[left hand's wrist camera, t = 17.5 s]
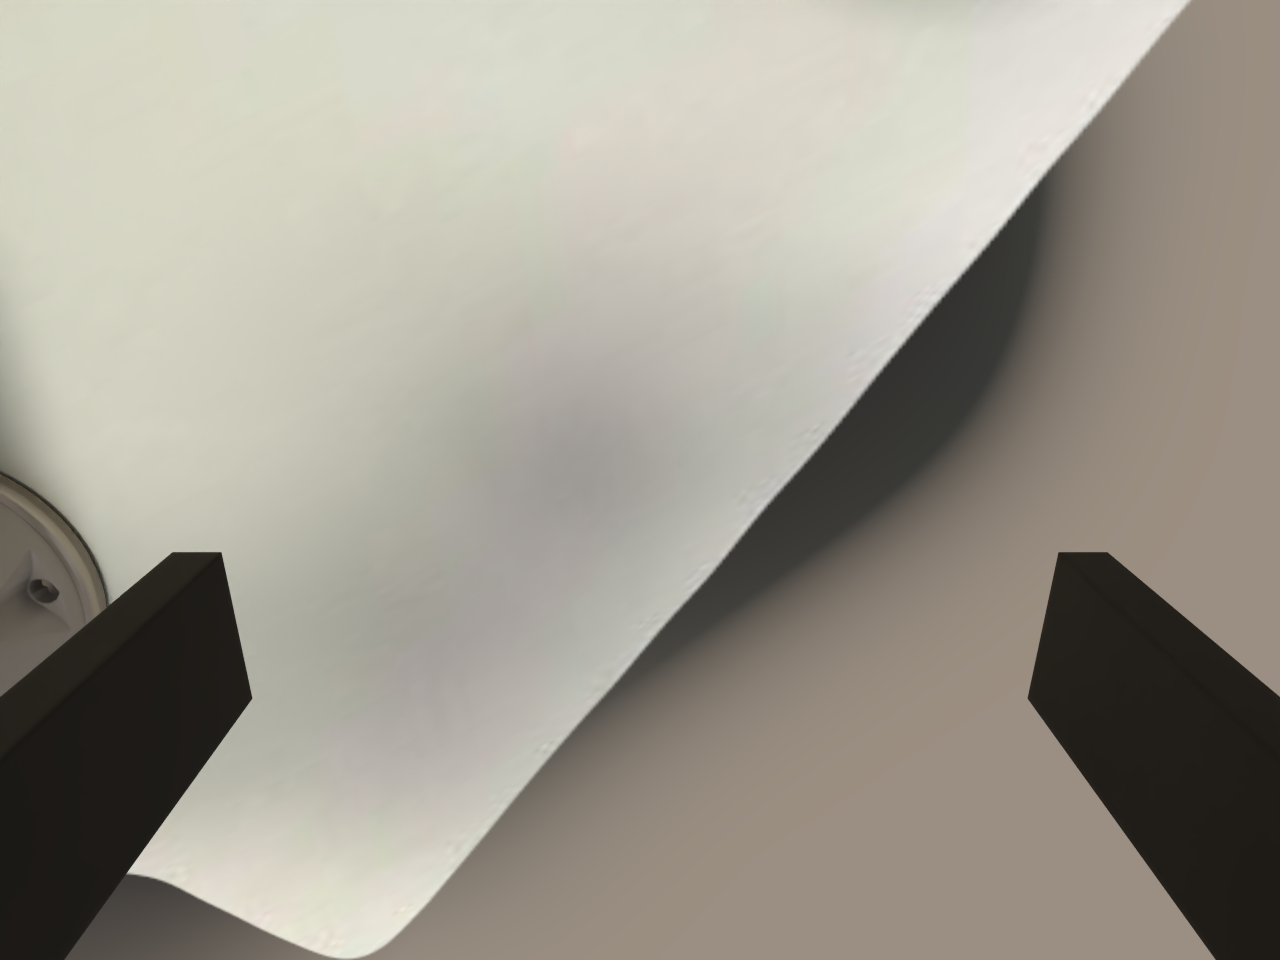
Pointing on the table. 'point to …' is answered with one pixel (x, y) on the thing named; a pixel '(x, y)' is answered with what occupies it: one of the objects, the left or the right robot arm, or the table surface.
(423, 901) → the table surface
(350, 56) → the table surface
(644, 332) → the table surface
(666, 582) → the table surface
